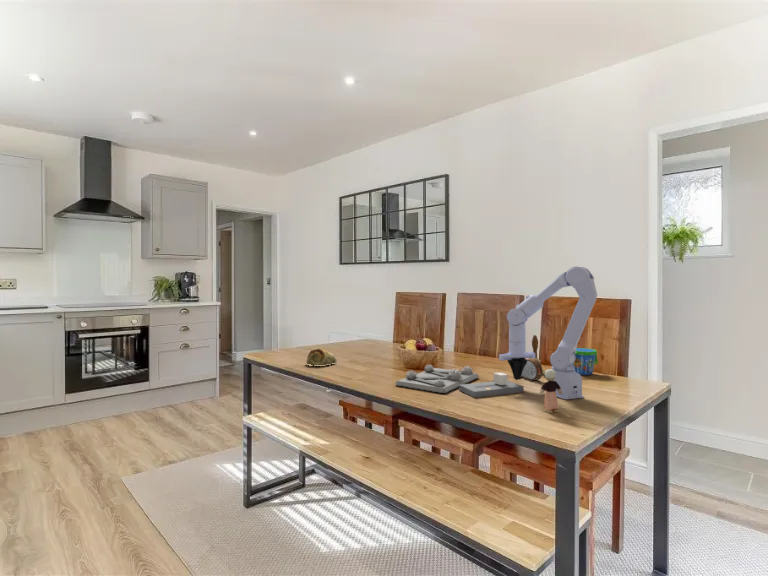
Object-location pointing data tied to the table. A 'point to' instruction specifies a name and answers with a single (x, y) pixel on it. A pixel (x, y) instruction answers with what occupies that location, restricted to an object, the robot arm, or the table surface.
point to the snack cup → (585, 361)
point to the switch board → (490, 389)
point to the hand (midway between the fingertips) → (517, 378)
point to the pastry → (320, 357)
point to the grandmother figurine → (550, 392)
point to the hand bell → (535, 346)
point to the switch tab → (501, 378)
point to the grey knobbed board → (438, 379)
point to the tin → (532, 369)
